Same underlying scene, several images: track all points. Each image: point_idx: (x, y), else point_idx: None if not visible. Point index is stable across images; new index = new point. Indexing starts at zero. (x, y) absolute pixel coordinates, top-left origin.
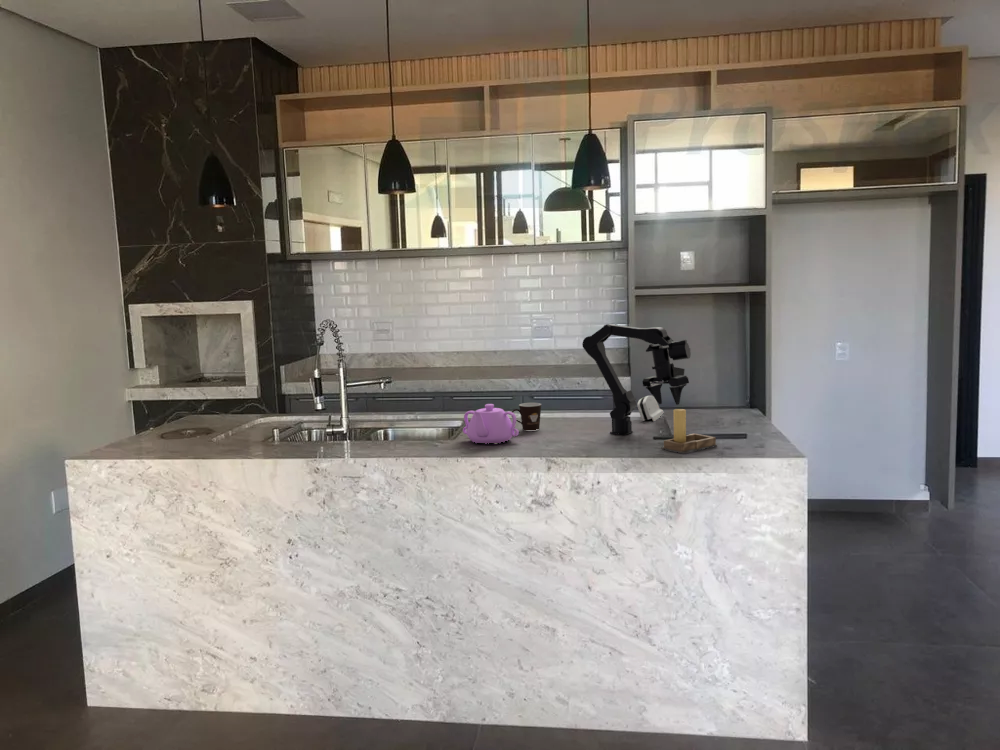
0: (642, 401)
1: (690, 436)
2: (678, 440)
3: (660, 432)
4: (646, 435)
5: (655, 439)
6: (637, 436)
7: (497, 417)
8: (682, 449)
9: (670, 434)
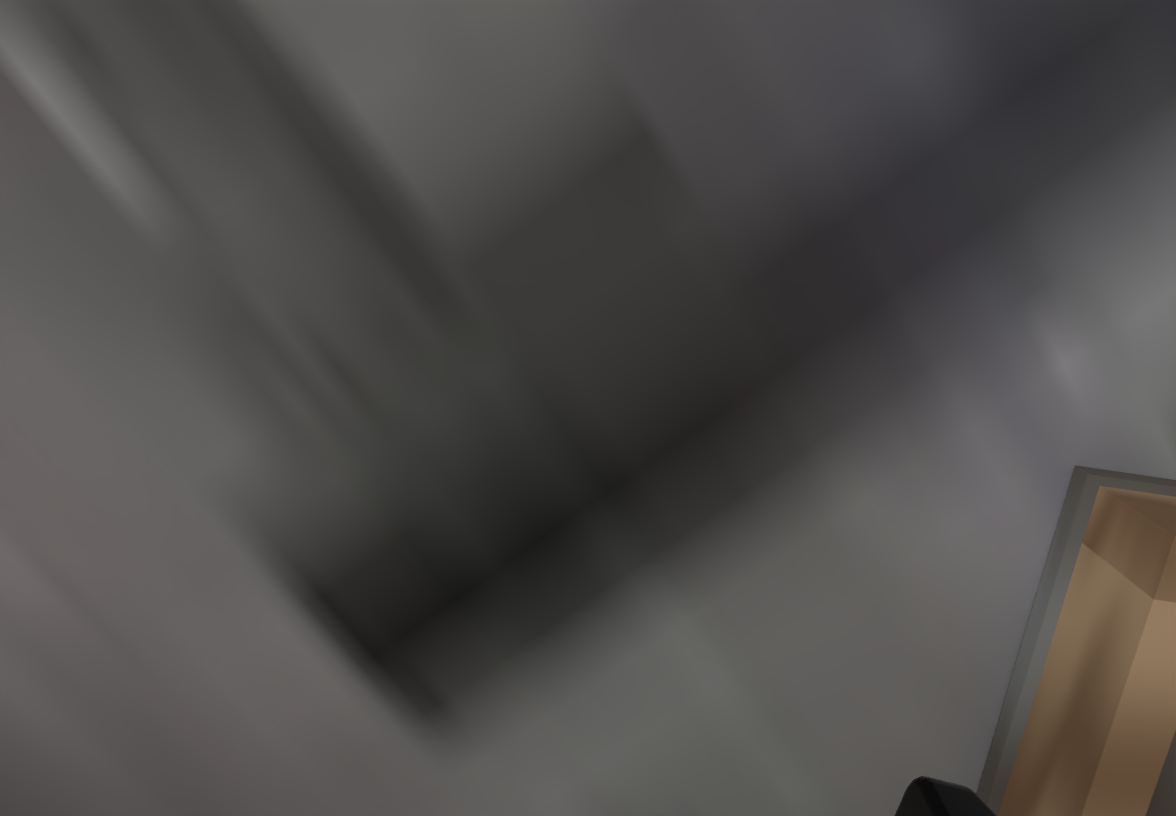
0: None
1: (1165, 700)
2: None
3: (113, 173)
4: (105, 553)
5: (443, 707)
6: (46, 703)
7: None
8: None
9: (393, 216)
